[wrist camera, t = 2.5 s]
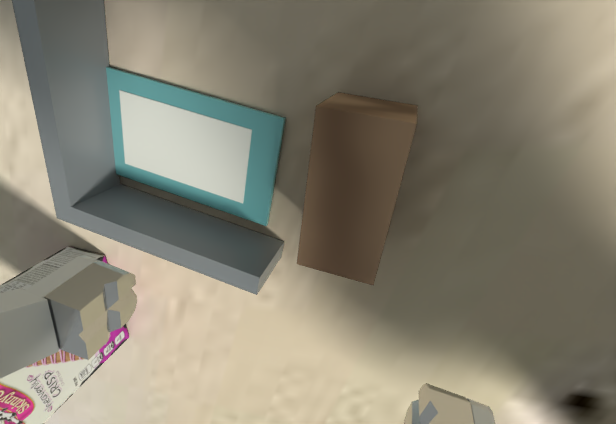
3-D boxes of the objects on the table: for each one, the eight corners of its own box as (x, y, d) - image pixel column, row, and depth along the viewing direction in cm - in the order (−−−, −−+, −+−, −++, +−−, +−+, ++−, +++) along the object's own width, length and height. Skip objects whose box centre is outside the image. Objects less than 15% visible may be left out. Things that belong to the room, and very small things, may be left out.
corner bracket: (324, 44, 18) (299, 45, 14) (281, 257, 26) (256, 294, 22) (82, -16, 21) (6, -29, 17) (106, 194, 28) (57, 218, 24)
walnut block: (417, 105, 19) (417, 123, 14) (382, 239, 23) (373, 285, 19) (338, 91, 19) (315, 105, 15) (318, 224, 24) (296, 264, 19)
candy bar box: (133, 337, 37) (-43, 518, 23) (97, 326, 38) (-92, 492, 24) (108, 252, 32) (-140, 419, 18) (67, 243, 33) (-196, 392, 19)
